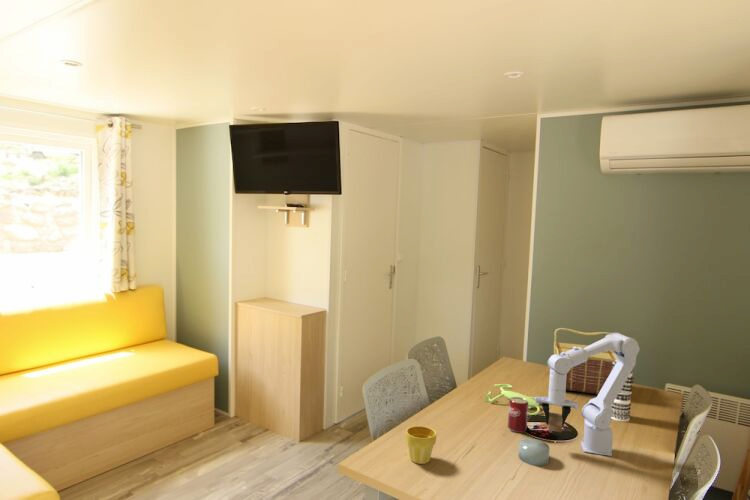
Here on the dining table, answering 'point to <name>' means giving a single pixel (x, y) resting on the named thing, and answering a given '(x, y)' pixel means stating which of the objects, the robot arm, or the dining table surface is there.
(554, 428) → the walnut block
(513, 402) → the soda can
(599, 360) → the picnic basket
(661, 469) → the dining table surface
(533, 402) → the figurine
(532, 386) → the dining table surface
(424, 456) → the plant pot
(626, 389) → the decorative candle
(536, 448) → the grey rounded dome
